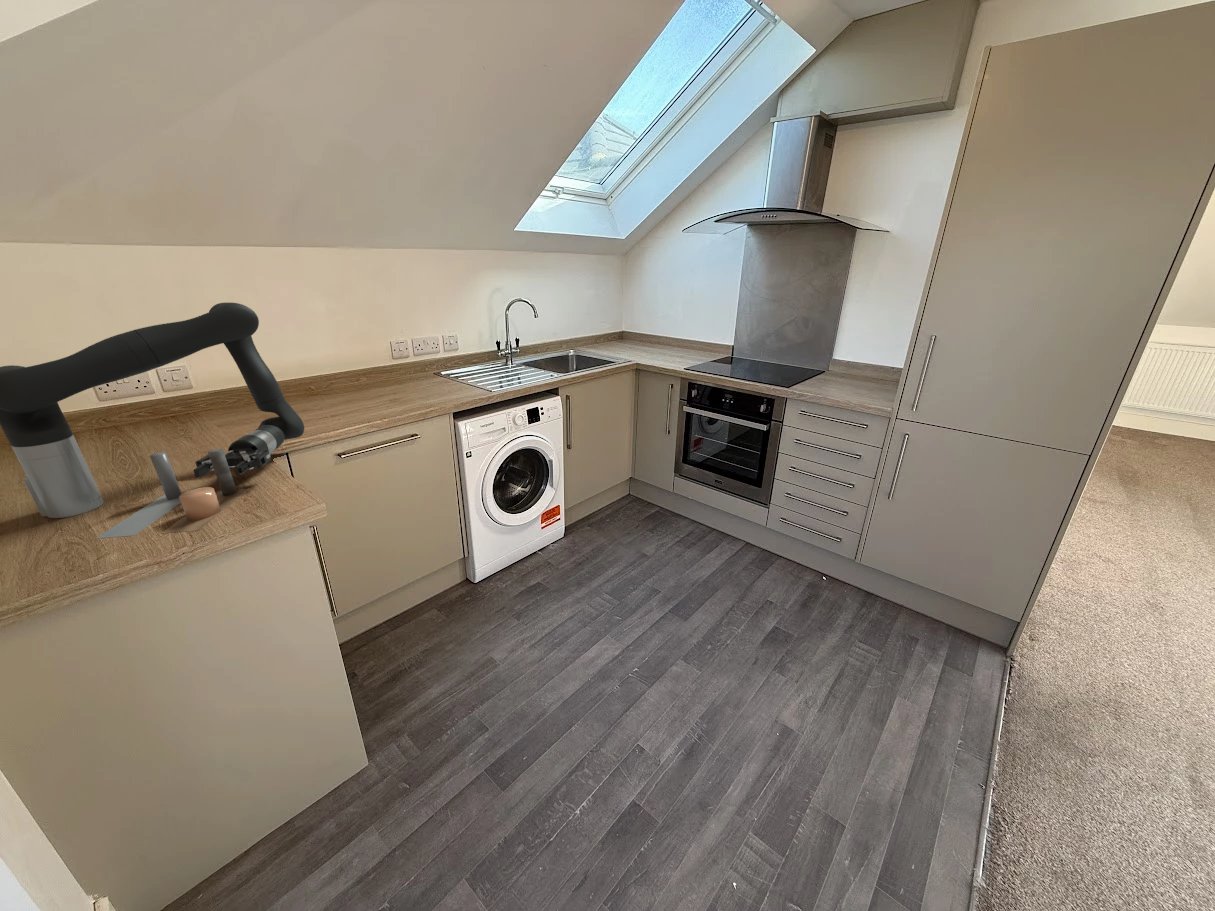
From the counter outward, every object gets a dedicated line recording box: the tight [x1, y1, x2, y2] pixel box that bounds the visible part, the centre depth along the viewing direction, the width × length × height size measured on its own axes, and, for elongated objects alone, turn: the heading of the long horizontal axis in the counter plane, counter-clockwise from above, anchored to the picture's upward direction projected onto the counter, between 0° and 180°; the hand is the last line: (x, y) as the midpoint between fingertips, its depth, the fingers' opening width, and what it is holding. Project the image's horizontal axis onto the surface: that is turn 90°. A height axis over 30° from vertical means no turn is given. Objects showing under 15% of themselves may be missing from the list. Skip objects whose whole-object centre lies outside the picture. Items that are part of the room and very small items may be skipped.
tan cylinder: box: [179, 486, 221, 520], centre depth 105 cm, size 6×6×5 cm
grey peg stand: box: [95, 451, 184, 540], centre depth 104 cm, size 7×20×12 cm, turn 9°
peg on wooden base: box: [161, 448, 250, 534], centre depth 106 cm, size 7×20×12 cm, turn 9°
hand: (217, 472), depth 111 cm, fingers open, 8 cm apart
